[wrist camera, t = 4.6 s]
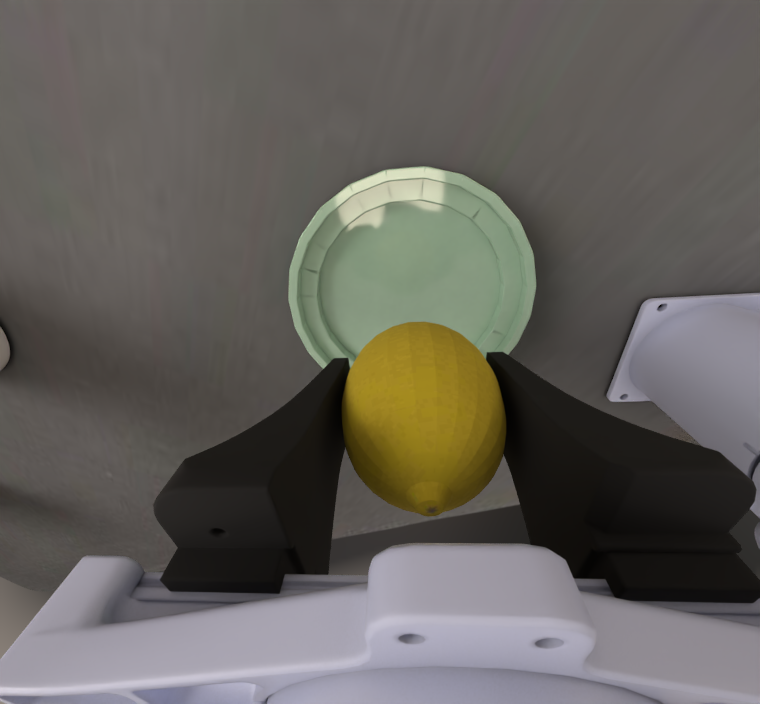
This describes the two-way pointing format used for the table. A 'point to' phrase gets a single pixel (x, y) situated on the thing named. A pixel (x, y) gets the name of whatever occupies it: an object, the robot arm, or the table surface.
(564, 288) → the table surface
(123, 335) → the table surface
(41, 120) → the table surface
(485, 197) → the plate
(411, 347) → the lemon
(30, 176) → the table surface
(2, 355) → the fruit juice
